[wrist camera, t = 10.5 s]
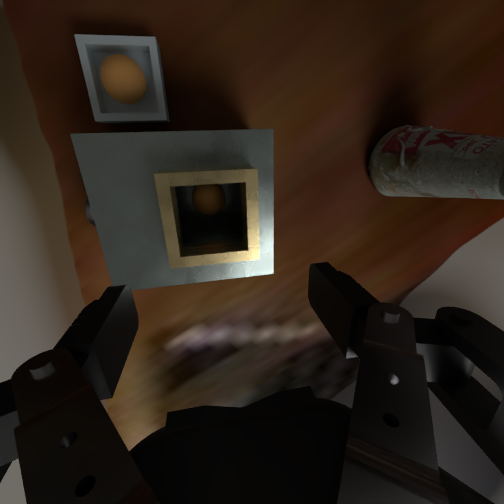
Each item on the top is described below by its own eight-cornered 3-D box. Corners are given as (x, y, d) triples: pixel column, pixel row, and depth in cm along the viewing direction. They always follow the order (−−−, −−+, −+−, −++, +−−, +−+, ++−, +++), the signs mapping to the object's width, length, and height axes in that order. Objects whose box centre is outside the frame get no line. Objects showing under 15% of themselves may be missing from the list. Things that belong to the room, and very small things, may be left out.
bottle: (356, 190, 36) (725, 291, 11) (376, 120, 33) (968, 26, 8) (406, 198, 38) (820, 297, 13) (430, 132, 35) (1044, 89, 10)
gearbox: (252, 134, 31) (281, 126, 19) (255, 242, 36) (280, 285, 25) (92, 139, 28) (18, 132, 17) (121, 254, 33) (80, 309, 22)
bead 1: (145, 62, 26) (136, 48, 22) (152, 106, 27) (145, 100, 24) (103, 61, 25) (87, 46, 22) (113, 107, 27) (99, 100, 23)
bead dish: (159, 46, 26) (155, 36, 24) (169, 122, 29) (167, 120, 27) (85, 44, 25) (74, 34, 23) (103, 123, 28) (95, 121, 25)
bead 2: (223, 178, 32) (225, 182, 28) (225, 210, 33) (228, 217, 29) (190, 180, 31) (188, 184, 27) (194, 212, 32) (193, 220, 29)
